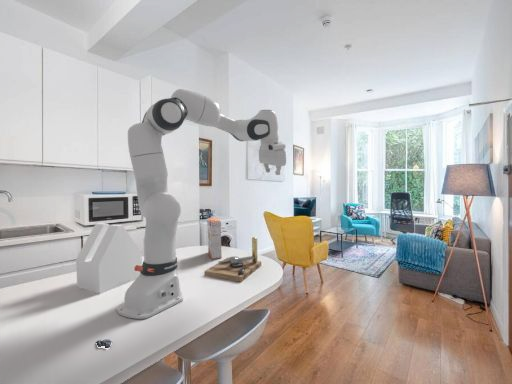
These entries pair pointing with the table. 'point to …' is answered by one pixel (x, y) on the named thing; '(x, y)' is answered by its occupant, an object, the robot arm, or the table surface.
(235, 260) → the capstan
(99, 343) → the blueberries
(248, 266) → the stand
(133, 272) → the milk carton
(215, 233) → the cracker box
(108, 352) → the table surface
